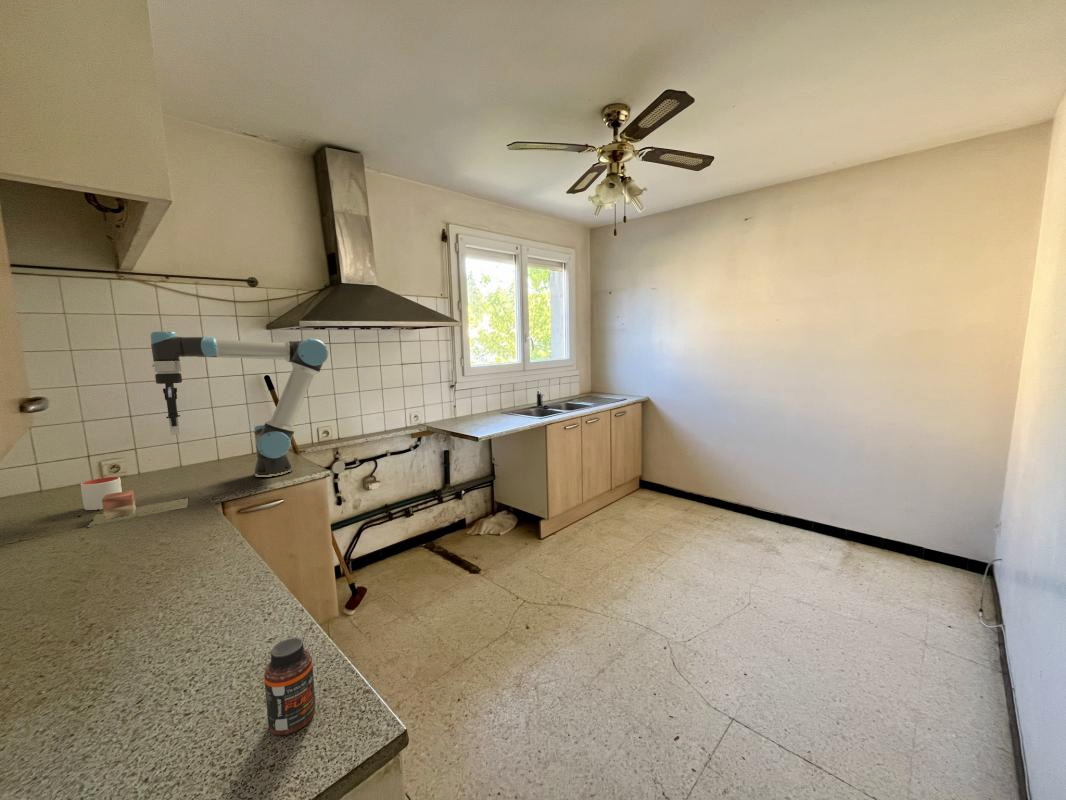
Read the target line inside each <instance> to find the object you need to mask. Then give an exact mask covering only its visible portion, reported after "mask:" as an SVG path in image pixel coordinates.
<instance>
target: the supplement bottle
mask: <svg viewBox="0 0 1066 800" xmlns="http://www.w3.org/2000/svg"><path fill="white" fill-rule="evenodd" d="M313 667H314V666H313V658H312V655H311V653H310V652H309V651H308V650H307V649H305V647H304V641H303V639H302V638H300V637H291V638H290V637H289V638H285V639H284V640H282V641H279V642H278V643H276V644H275V645H274V646H273V647H272V648H271V650H270V661H269V663H268V664H267V665H266V666H265V669H264V674H263V675H264V676H263V677H264V689H265V703H266V713H267V716H266V717H267V723H268V729H269V731H270V732H271V733H272V734H273V735H276V736H287V735H290V734H293V733H295V732H297V731H300V730H301V729H303V727H305V726H306V725H307V724H308V723H309V722H310V721H311V719H312V718H313V717H314V715H315V712H316V694H315V679H314V668H313Z"/></svg>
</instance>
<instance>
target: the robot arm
mask: <svg viewBox="0 0 1066 800" xmlns="http://www.w3.org/2000/svg"><path fill="white" fill-rule="evenodd" d="M150 346H151V347H150V348H151V354H152V361H153V364H151V367H152V368H153V369H154V373H156V374H154V379H155V384H157V385H163V384H164V385H165V387H164V388H162V392H163V395H164V400H165V401H166V408H167V414H168V415H167V416H166V419H168V423H169V433H170V436H175V435H180V434H181V432H180V431H181V430H180V429H181V428H180V421H179V418H180V417H181V415H180V414H179V412H178V407H177V399H178V393H177V392H178V388H177V387H175V385H174V384H181V383H182V382H183V378H182V377H183V376H182V373H180V372H181V371H182V366H181V360H180V357H181V358H182V357H183V358H185V357H187V358H188V357H190V358H191V357H197V358H223V359H226V358H227V359H232V358H233V359H249V360H250V359H253V360H254V359H255V360H256V359H257V360H280V361H281V360H283V361H284V360H285V361H286V362H287V363H291V366H292V369H291V372H290V375H289V377H288V379H287V381H286V384H285V386H284V389H283V391H282V392H281V396H280V398H279V400H278V402H277V405H276V407H275V410H274V412H273V414H272V416H271V418H270V419H269V420H268V421H265V423H264V424H260V425H259V424H258V425H255V426H254V430H253V433H254V439H255V452H256V462H255V465H254V469H253V475H254V474H258V475H269V474H277V473H281V472H285V471H288V470H290V469H293V465H292V463H291V461H290V459H289V457H288V452H289V450H290V449H291V443H292V439H293V436H294V434H295V432H296V430H295V427H294V424H295V421H296V419H297V417H298V415H299V412H300V409H301V407H302V404H303V402H304V400H305V398H306V395H307V393H308V390H309V387H310V386H311V383H312V381H313V379H314V376H315V375H317V374H319V373H320V371H321V369H322V367H323V364H324V363H325V362H326V361H327V359H328V356H329V349H328V347H327V345H326V344H325V343H324V342H323V341H322V340H319V339H317V338H314V337H311V338H309V337H308V338H306V339H303V340H295V341H294V340H293V341H292V340H288V341H287V340H286V341H285V342H268V341H251V340H236V339H235V340H233V339H217V338H216V337H214V336H213V337H212V336H210V337H209V336H187V337H184V336H183V337H182V336H178V334H177V332H175V331H166V330H165V331H164V330H163V331H162V330H161V331H160V330H159V331H157V330H156V331H153V332H151V333H150Z"/></svg>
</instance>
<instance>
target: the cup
mask: <svg viewBox="0 0 1066 800" xmlns="http://www.w3.org/2000/svg"><path fill="white" fill-rule="evenodd" d="M80 489H81V497H82V503H83V508H84V510H86V511H87V510H97V509H103V504H102V499H103V498H104V496H105V495H106V494H113V493H119V492H123V489H122V481H121V477H120V476H107V477H99V478H94V479H89V480H86V481H83V482H81V483H80Z"/></svg>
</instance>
